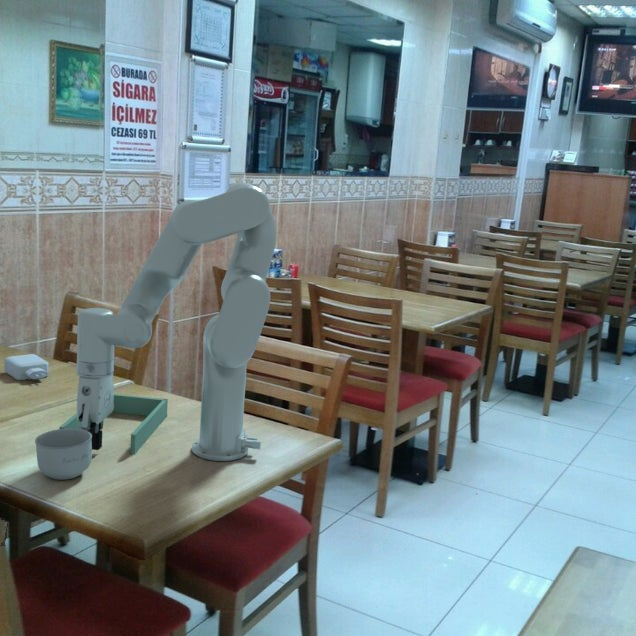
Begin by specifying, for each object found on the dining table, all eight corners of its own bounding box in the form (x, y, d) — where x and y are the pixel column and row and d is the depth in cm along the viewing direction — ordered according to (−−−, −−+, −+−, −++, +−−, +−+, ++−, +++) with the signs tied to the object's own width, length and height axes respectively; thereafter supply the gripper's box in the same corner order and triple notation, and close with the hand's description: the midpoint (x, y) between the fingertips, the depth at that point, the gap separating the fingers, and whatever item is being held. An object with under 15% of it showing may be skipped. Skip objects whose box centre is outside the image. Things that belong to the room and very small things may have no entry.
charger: (24, 387, 203) (4, 373, 213) (57, 382, 209) (36, 369, 219) (24, 370, 202) (4, 357, 212) (58, 366, 208) (36, 353, 218)
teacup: (67, 489, 145) (67, 450, 143) (23, 477, 148) (23, 439, 147) (112, 465, 157) (112, 429, 156) (70, 454, 161) (70, 418, 160)
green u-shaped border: (167, 416, 189) (167, 399, 188) (134, 454, 164) (135, 434, 163) (101, 409, 190) (101, 392, 189) (59, 446, 165) (59, 426, 164)
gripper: (99, 378, 151) (97, 463, 155) (124, 359, 166) (122, 437, 170) (63, 374, 152) (62, 459, 155) (91, 356, 166) (89, 434, 170)
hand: (93, 448), depth 162 cm, fingers closed
